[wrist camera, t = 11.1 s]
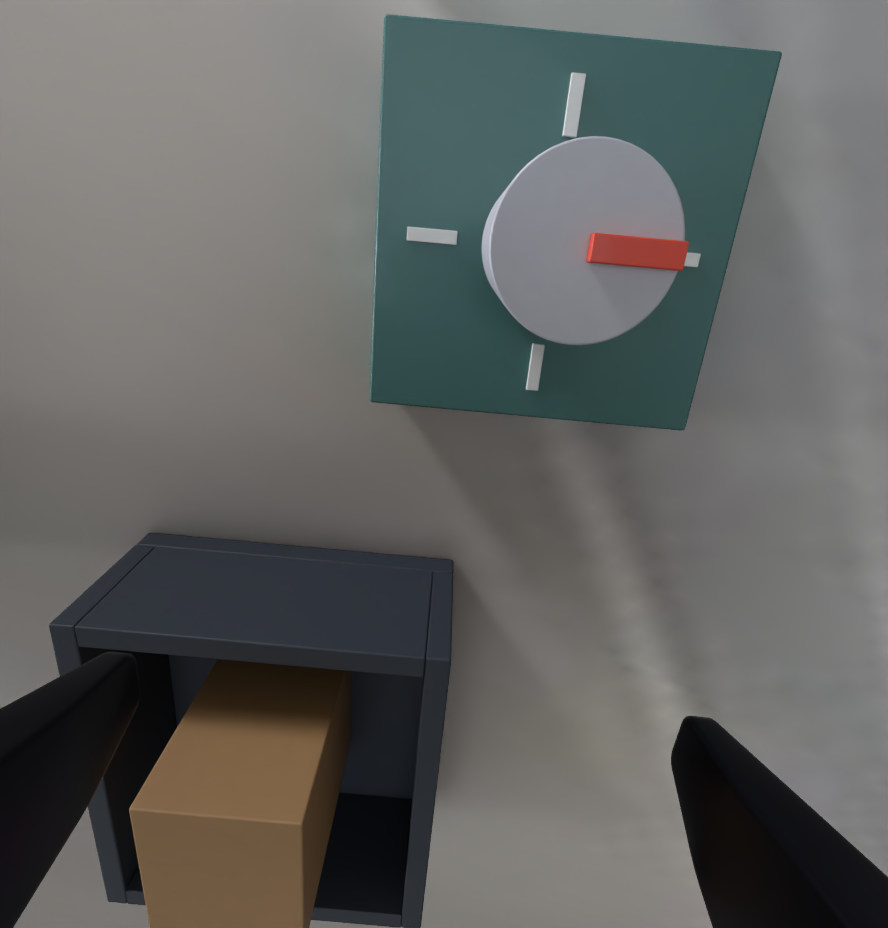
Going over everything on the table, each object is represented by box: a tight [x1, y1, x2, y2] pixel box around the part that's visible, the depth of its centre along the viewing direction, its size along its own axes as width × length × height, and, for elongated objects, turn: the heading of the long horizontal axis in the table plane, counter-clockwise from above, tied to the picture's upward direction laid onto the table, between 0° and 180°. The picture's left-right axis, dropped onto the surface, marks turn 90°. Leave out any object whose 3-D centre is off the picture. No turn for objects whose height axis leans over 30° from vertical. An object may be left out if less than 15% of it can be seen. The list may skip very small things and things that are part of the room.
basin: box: [49, 533, 453, 928], centre depth 23 cm, size 13×14×6 cm
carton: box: [129, 659, 352, 928], centre depth 21 cm, size 5×6×8 cm
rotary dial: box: [370, 15, 782, 430], centre depth 17 cm, size 10×10×3 cm
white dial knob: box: [482, 136, 689, 345], centre depth 13 cm, size 4×4×5 cm
